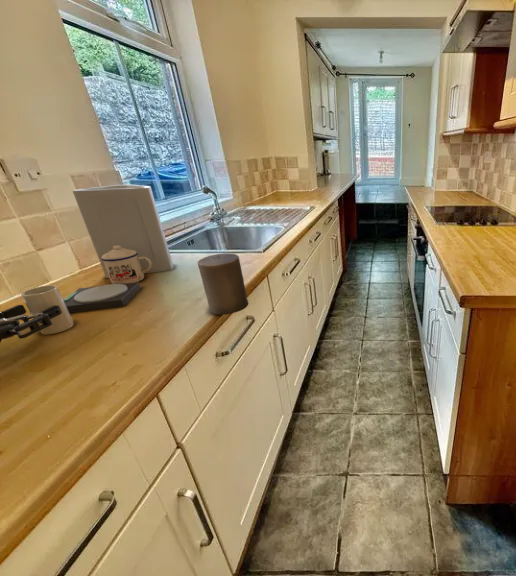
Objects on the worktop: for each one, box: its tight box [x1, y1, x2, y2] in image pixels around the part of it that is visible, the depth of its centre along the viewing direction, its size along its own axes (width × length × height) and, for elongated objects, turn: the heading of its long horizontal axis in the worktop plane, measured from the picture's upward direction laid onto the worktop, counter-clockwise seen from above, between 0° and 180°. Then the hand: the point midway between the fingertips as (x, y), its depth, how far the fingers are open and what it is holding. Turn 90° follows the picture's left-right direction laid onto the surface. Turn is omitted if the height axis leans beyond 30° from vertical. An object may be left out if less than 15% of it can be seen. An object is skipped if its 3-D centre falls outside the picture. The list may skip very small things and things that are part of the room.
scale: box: [63, 281, 142, 314], centre depth 90 cm, size 15×13×2 cm
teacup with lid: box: [101, 245, 151, 284], centre depth 102 cm, size 12×9×12 cm
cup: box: [20, 284, 75, 335], centre depth 74 cm, size 6×6×10 cm
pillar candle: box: [197, 253, 249, 316], centre depth 83 cm, size 10×10×15 cm
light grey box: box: [72, 183, 174, 279], centre depth 109 cm, size 19×15×28 cm
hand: (41, 308), depth 73 cm, fingers open, 8 cm apart
